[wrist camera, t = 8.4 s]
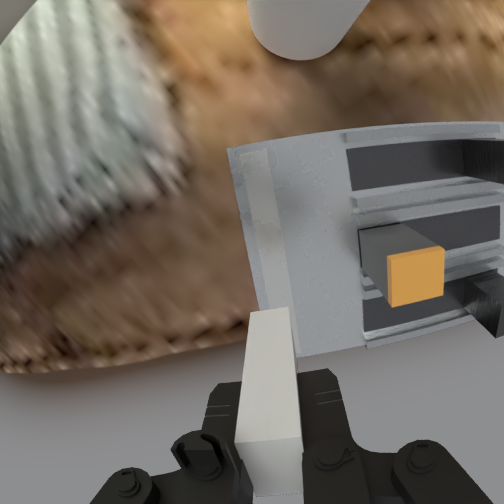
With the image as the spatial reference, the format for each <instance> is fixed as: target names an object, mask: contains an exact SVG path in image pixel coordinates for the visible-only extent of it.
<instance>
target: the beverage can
mask: <svg viewBox="0 0 504 504" xmlns="http://www.w3.org/2000/svg"><path fill="white" fill-rule="evenodd" d="M369 2H370V0H247V7H248V14H249V21H250V25H251V29H252V31H253V33H254V35H255V37H256V38H257V40H258V41H259V42H260V43H261V44H262V45H263V46H264V47H265V48H266V49H267V50H269V51H270V52H272V53H274V54H276V55H278V56H281V57H284V58H287V59H292V60H310V59H315V58H318V57H321V56H323V55H325V54H327V53H329V52H330V51H331V50H333V49H334V48H335V47H336V46H337V45H338V43H339V42H340V41H341V40H342V38H343V37H344V36H345V34H346V33H347V31H348V30H349V29H350V27H351V26H352V25H353V23H354V22H355V21H356V19H357V18H358V16H359V15H360V14H361V12H362V11H363V10H364V8H365V7H366V6H367V4H368V3H369Z"/></svg>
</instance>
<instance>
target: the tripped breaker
mask: <svg viewBox="0 0 504 504" xmlns="http://www.w3.org/2000/svg"><path fill="white" fill-rule="evenodd" d="M359 236H360V247H361V258H362V268H363V270H364V271H365V272H366V274H367V275H368V276H369V277H370V279H371V280H372V281H373V283H374V284H375V285H376V287H377V288H378V289H379V291H380V292H381V293H382V295H383V296H384V297H385V299H386V300H387V301H388V303H389V304H390V305H391V307H397V306H401V305H405V304H410V303H414V302H418V301H422V300H426V299H430V298H434V297H438V296H442V295H443V289H444V261H445V249H444V248H442V247H440V246H439V245H437V244H436V243H434V242H432V241H431V240H429V239H428V238H426V237H424V236H423V235H421V234H419V233H418V232H416V231H414V230H413V229H411V228H409V227H408V226H406V225H404V224H402V223H401V224H395V225H389V226H384V227H378V228H372V229H366V230H360V231H359Z"/></svg>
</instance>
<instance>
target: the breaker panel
mask: <svg viewBox="0 0 504 504" xmlns="http://www.w3.org/2000/svg"><path fill="white" fill-rule="evenodd" d="M226 149H227V154H228V159H229V164H230V168H231V173H232V178H233V183H234V188H235V193H236V198H237V203H238V208H239V213H240V218H241V223H242V227H243V232H244V237H245V242H246V247H247V252H248V257H249V262H250V267H251V271H252V276H253V281H254V286H255V291H256V296H257V301H258V305H259V310H260V311H263V310H270V309H276V308H283V307H289V313H290V319H291V325H292V331H293V338H294V344H295V351H296V357H297V358H300V357H306V356H312V355H317V354H323V353H328V352H333V351H339V350H343V349H349V348H353V347H358V346H363V345H365V346H366V348H367V349H369V348H374V347H378V346H382V345H386V344H391V343H395V342H399V341H403V340H406V339H410V338H414V337H418V336H422V335H426V334H429V333H433V332H436V331H440V330H443V329H446V328H450V327H453V326H456V325H459V324H463V323H466V322H469V321H472V320H475V319H476V320H477V321H478V322H479V323H480V324H482V325H483V326H484V327H485V328H486V329H487V330H488V331H489V332H490V333H491V334H492V335H493V336H494V337H495V338H498V337H500V336H503V335H504V122H479V121H472V122H430V123H411V124H396V125H383V126H372V127H362V128H352V129H343V130H335V131H327V132H320V133H312V134H305V135H299V136H292V137H286V138H280V139H274V140H268V141H263V142H257V143H252V144H246V145H241V146H236V147H231V148H226ZM401 223H402V224H404V225H406V226H408V227H409V228H411V229H413V230H414V231H416V232H418V233H419V234H421V235H423V236H424V237H426V238H428V239H429V240H431V241H432V242H434V243H436V244H437V245H439V246H440V247H442V248H444V249H445V261H444V289H443V295H442V296H438V297H434V298H430V299H426V300H422V301H418V302H414V303H410V304H405V305H401V306H397V307H391V305H390V304H389V303H388V301H387V300H386V299H385V297H384V296H383V295H382V293H381V292H380V291H379V289H378V288H377V287H376V285H375V284H374V283H373V281H372V280H371V279H370V277H369V276H368V275H367V274H366V272H365V271H364V270H363V268H362V258H361V247H360V236H359V231H360V230H366V229H372V228H378V227H384V226H389V225H395V224H401Z"/></svg>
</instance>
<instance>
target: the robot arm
mask: <svg viewBox="0 0 504 504" xmlns="http://www.w3.org/2000/svg"><path fill="white" fill-rule="evenodd" d="M207 407H208V408H207V409H206V413H205V418H204V421H203V425H202V430H197V431H192V432H189V433H187V434H185V435H183V436H181V437H180V438H179V439H178V440H176V441H175V442H174V444H173V446H172V448H171V452H172V453H173V455H174V456H175V458H176V460H177V462H178V463H179V465H180V467H181V469H180V470H177V471H174V472H171V473H166V474H162V475H156V476H151V477H150V476H149V475H148V473H147V472H145V471H143V470H142V469H139V468H133V467H131V468H125V469H122V470H119V471H117V472H115V473H114V474H113V475H112V476H111V477H110V478H109V479H108V480H107V482H106V483H105V484H104V485H103V487H102V488H101V490H100V491H99V492H98V494H97V495H96V496H95V497H94V499H93V500H92V501H91V503H90V504H253V503H252V502H253V491H254V493H255V495H256V497H264V496H277V495H289V494H298V493H303V495H304V504H493V503H492V502H491V500H490V499H489V498H488V497H487V496H486V494H485V493H484V492H483V491H482V490H481V489H480V487H479V486H478V485H477V484H476V483H475V482H474V481H473V479H472V478H471V477H470V476H469V475H468V474H467V473H466V471H465V470H464V469H463V468H462V467H461V466H460V464H459V463H458V462H457V461H456V460H455V459H454V458H453V457H452V456H451V454H450V453H449V452H448V451H447V450H446V449H445V448H444V447H443V446H442V445H440V444H439V443H438V442H434V441H431V440H416V441H414V442H411V443H408V444H406V445H405V446H403V447H402V448H401V449H400V450H399V451H398V452H397V453H378V452H370V451H368V450H365V449H363V448H361V447H360V446H358V445H357V444H356V442H355V441H354V440H353V438H352V435H351V432H350V428H349V424H348V420H347V415H346V411H345V407H344V403H343V400H342V395H341V392H340V388H339V384H338V380H337V377H336V376H335V375H334V374H333V373H332V372H331V371H330V370H329V369H321V370H315V371H309V372H303V373H298V364H297V357H296V351H295V344H294V338H293V331H292V325H291V319H290V313H289V307H283V308H276V309H270V310H263V311H257V312H251V313H250V321H249V329H248V337H247V345H246V354H245V362H244V371H243V378H242V381H240V382H230V383H219V384H218V385H217V386H216V387H215V389H214V390H213V391H212V392H211V393H210V396H209V400H208V405H207Z"/></svg>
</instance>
